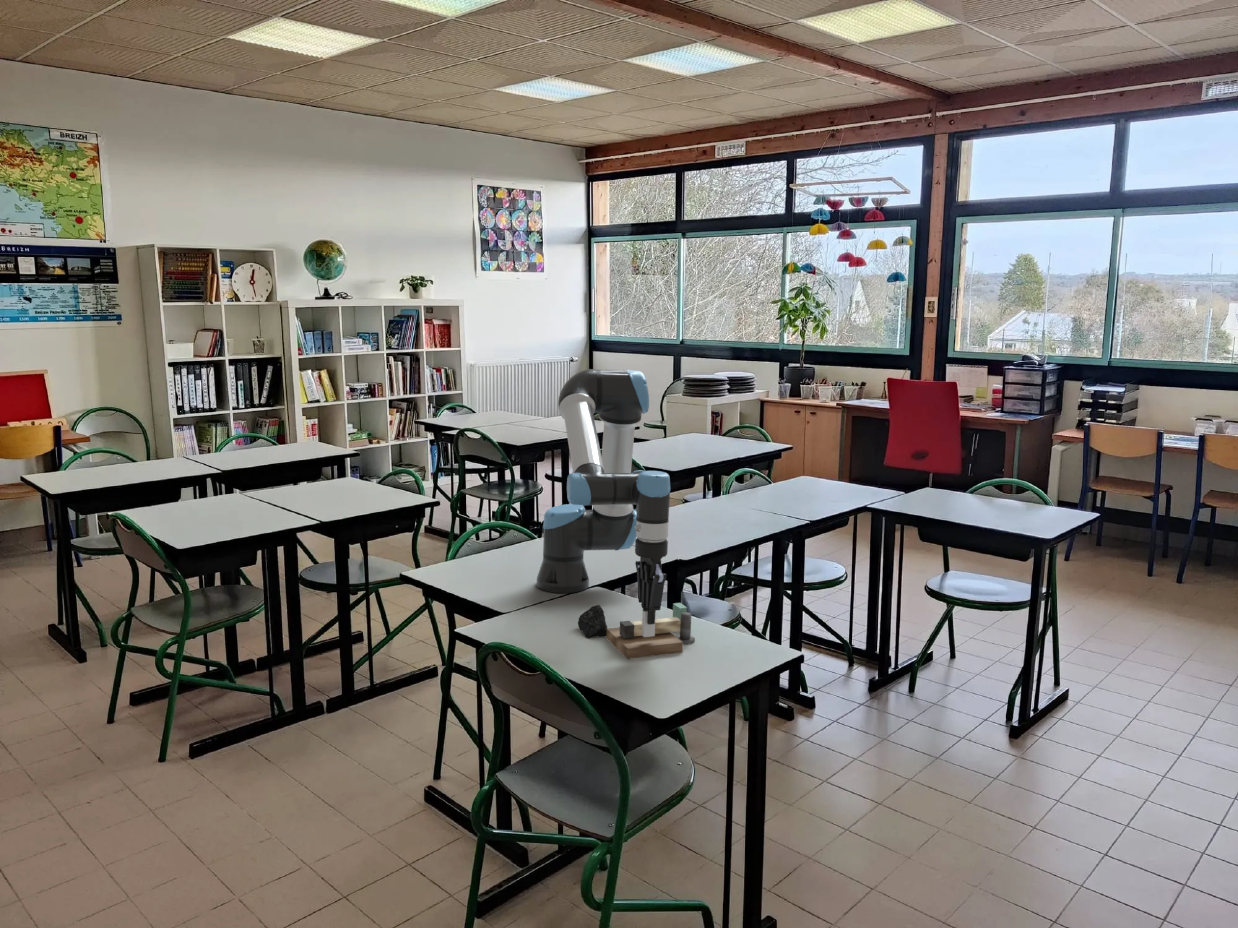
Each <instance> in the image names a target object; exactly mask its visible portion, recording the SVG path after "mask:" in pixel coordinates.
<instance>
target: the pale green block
mask: <svg viewBox="0 0 1238 928" xmlns="http://www.w3.org/2000/svg"><path fill="white" fill-rule="evenodd" d="M683 612H688V607H687V606H686V605H684V604H682V603H681V602H675V603H672V617H677V618H678V619H680V620H681V613H683Z"/></svg>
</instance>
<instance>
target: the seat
mask: <svg viewBox="0 0 1238 928" xmlns="http://www.w3.org/2000/svg"><path fill="white" fill-rule="evenodd" d="M691 628H692V613H691V612H688V611H687V612H683V613H681V623H680V631H679V634H678V635H675V634H673V632H669V633H660V634H655V636H651V637H643V636H634V638H628V639H624V638H623V637H622V636H621V635H620V626H619V627H609V628H608V627H607V633H606V636H605V638H606V640H608V642H609V643H610V644H612V646H614V647H615V649H617V651H619V652H620V653H621V654H622V655H623V656H624V657H625V659H627V660H628V659H629V660H631V659H637V658H638V659H639V658H645V657H646V658H648V657H654V656H664V655H671V654H678V653H683V645H691V644H694V643H695V642H696V638H695V637H694V636H693V635H692V633H691V632H692V629H691Z"/></svg>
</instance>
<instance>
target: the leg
mask: <svg viewBox="0 0 1238 928" xmlns="http://www.w3.org/2000/svg"><path fill="white" fill-rule="evenodd" d="M680 623H681V620H680V619H678V618H677V617H673V616H672V617H665V618H655V634H660V633H669V632H671V633H678V632H680ZM619 627H620V635H621V636H622V637H623V638H624V639H628V638H634V636H642V620H637V621H636V620H635V621H634V620H633V621H630V620H621V621H619Z"/></svg>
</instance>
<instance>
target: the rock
mask: <svg viewBox="0 0 1238 928" xmlns="http://www.w3.org/2000/svg"><path fill="white" fill-rule="evenodd" d="M577 627H578V630H579V631H581V632H582V634H583V636H584V638H586V639H591V638H597V637H598V638H600V637H601V638H602V637H605V638H606V633H607V629H608V625H607V622H606V616H605V612H604V609H603V607H602V606H601V604H596V605H593V606H591V607H590V608H589V609H587V610H586V611H584V612H582V614H580V616H579V617H578V621H577Z"/></svg>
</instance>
